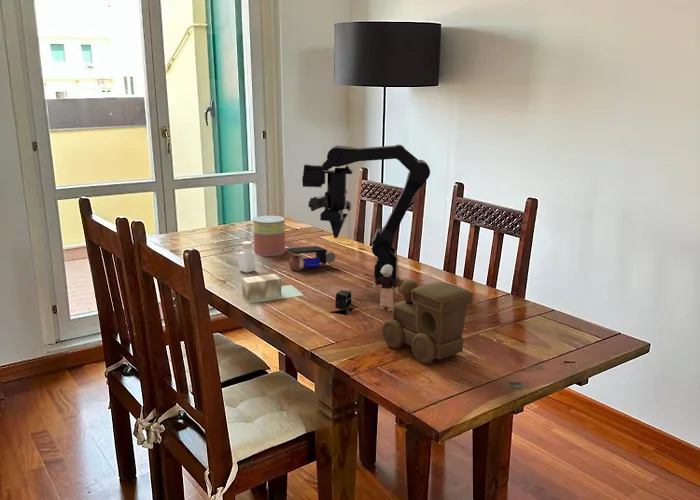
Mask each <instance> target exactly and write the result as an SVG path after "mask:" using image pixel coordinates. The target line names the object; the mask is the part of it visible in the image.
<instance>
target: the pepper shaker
mask: <svg viewBox="0 0 700 500" xmlns="http://www.w3.org/2000/svg"><path fill="white" fill-rule="evenodd" d="M241 250H242V251H240V252H239V253H238V262H239V263H238V268H239V271H240V272H244V273H248V274H249V273H252V272H254V271H256V268H257V267H256V266H257V265H256V254H255V253H254V250H253V243H252V241H246V240H245V241H242V242H241Z"/></svg>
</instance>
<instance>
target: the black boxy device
mask: <svg viewBox="0 0 700 500" xmlns="http://www.w3.org/2000/svg"><path fill="white" fill-rule="evenodd" d="M352 296H353V295H352V291H351V290H344V289H340V290H339V291H338V292H337V293H336V294H335V302H334V303H335V307H334V308H337V309H341V310H334V311H333V310H332V311H329V313H330V314H331V313H332V314H336V315H343V316H348V315H349V314H350V313H352V311H354V309H355V307H353V308H349V307H350V306H351V305H352Z"/></svg>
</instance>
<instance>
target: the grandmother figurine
mask: <svg viewBox="0 0 700 500" xmlns="http://www.w3.org/2000/svg"><path fill="white" fill-rule="evenodd" d="M392 268H393V267H392V266H391V265H389V264H387V265H384V266H383V267H382V269H381V271H380V272H381V273H382V274H383V276H384V277H380V278H378V279H377V280H376V281H375V280H374V284H373V286H372V287H373V289H377V288H378V286H380V292H379V293H380V295H379V300H380V301H379V303H380V304H379V305H380V306H379V310H382V311H383V310H386V311H387V312H393V306H394V293H395V294H396V295H398V294H399V293H400V292H399V287H398V285H397V281H396V282H395V281H394V280H393V279H392V278H390V276H391V275H392V270H393V269H392ZM393 289H394V290H393Z"/></svg>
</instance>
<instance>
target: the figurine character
mask: <svg viewBox="0 0 700 500" xmlns="http://www.w3.org/2000/svg"><path fill="white" fill-rule="evenodd" d="M286 251H288V252H289V253H291V254H294V255H293V256H291V258H290V259H289V261H288V265H289V269H291V270H292V271H302V269H303V268H317V267H318V268H328V265H327V263H329V264H330V263H333V262H334V261H335V260H336V255H335V253H334V252H331V251H328V250H327V249H326V248H324V247H321V246H318V245H314V246H311V245H310V246H300V247H299V246H298V247H287V248H286ZM309 253H310V254H312V253H315V257H303V258H302V257H301V256H300V254H309ZM297 254H299V255H297Z"/></svg>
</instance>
